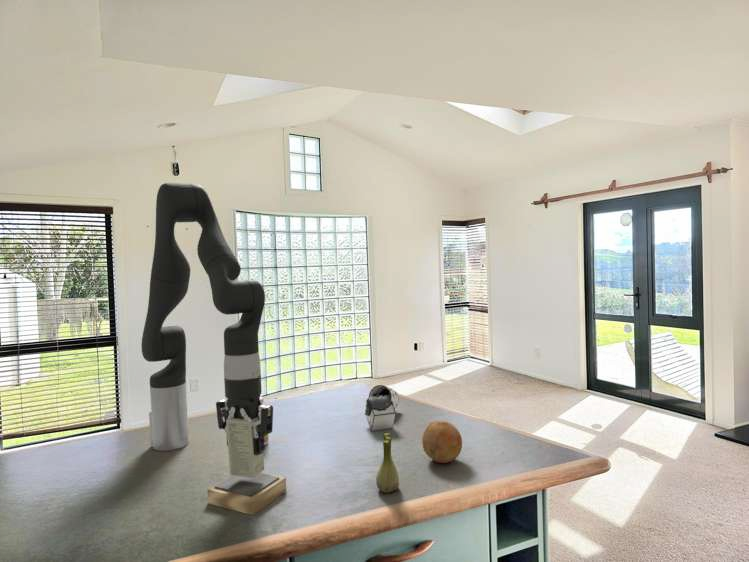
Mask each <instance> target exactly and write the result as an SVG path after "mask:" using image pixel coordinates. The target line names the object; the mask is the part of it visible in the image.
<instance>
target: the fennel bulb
mask: <svg viewBox="0 0 749 562" xmlns="http://www.w3.org/2000/svg"><path fill="white" fill-rule="evenodd" d="M382 446H383V458H382V459H383V460H382V461H381V464H380V467H379V468H378V471H377V474H376V477H375V482H376V486H377V489H379V491H380V492H381V493H385V494H387V493H388V494H389V493H392V492H394V491H396V490H398V488H399V487H400V482H399V481H400V480H399V479H400V478H399V474H398V470H397V468H396V467H397V466H396V465H395V463H394V461H393V457H392V437H391V433H390V432H386V433H384V434H383V443H382Z"/></svg>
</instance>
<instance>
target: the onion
mask: <svg viewBox="0 0 749 562" xmlns="http://www.w3.org/2000/svg"><path fill="white" fill-rule="evenodd" d="M421 441H422V448H423V451H424V453H425V454H426V455H427V457H428V458H430V459H431V460H433V461H434V462H437V463H441V464H446V463H450V462H453V461H454V460H456V459H457V458H458V457H459V455H460V453H461V452H462V448H463V437H462V435H461V433H460V431H459V430H458V428H457V427H456V426H455V425H454V424H452V423H451V422H449V421H446V420H436V421H431V422H430V423H429V424H428V425H427V427H426V429H425V430H424V432H423V434H422V440H421Z"/></svg>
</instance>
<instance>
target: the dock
mask: <svg viewBox="0 0 749 562" xmlns="http://www.w3.org/2000/svg"><path fill="white" fill-rule="evenodd" d="M206 490H207V503H208V504H210V505H213V506H217V507H220V508H221V507H222V508H224V509H228V510H232V511H235V512H239V513H244V514H248V515H251V516H253V515H255V514H256V513H258V512H259V511H260V510H262V509H263V508H265V507H266V506H267V505H269V504H270V503H272V502H273V501H274V499H275V500H276V499H278V498H279V497H280V496H282V495H283V494H285V493H286V492H287V478H286V477H283V476H280V475H275V474H270V473H265V472H261V473H259V474H258V475H257V476H256V477H254V478H250V477H241V476H233V475H230V476H229V477H226V478H224V479H223V480H221V481H219V482H217V483H216V484H214V485H212V486H210V487H209V488H207V489H206ZM285 491H286V492H285ZM284 492H285V493H284ZM282 493H283V494H282ZM281 494H282V495H281ZM278 496H279V497H278ZM277 497H278V498H277Z"/></svg>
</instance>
